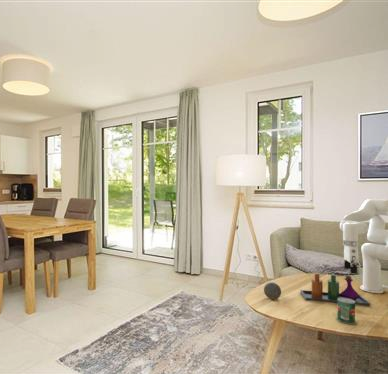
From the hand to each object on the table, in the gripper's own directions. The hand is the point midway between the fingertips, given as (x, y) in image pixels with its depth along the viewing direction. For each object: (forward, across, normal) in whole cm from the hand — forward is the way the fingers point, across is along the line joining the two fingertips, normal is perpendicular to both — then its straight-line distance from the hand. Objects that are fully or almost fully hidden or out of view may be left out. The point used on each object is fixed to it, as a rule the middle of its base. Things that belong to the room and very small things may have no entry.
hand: (350, 270), depth 185 cm
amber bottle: (+18, -1, +18) cm, 26 cm away
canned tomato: (+18, -31, +12) cm, 38 cm away
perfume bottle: (+18, 0, 0) cm, 18 cm away
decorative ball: (+18, -9, +46) cm, 50 cm away
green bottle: (+18, -1, +10) cm, 20 cm away
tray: (+19, -1, +10) cm, 21 cm away
